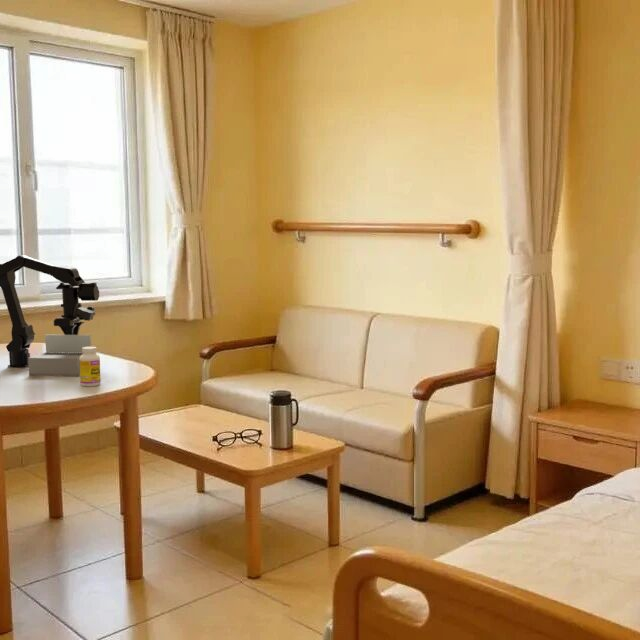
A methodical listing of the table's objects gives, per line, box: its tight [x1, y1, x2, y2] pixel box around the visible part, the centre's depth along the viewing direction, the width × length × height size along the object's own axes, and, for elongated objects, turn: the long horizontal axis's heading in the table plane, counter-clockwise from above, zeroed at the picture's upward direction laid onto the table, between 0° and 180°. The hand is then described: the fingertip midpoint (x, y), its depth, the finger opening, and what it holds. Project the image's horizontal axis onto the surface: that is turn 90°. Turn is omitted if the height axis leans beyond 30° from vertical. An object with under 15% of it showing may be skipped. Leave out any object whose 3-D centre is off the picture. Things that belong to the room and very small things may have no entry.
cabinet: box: [28, 351, 83, 377], centre depth 285 cm, size 18×14×6 cm
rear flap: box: [44, 333, 92, 353], centre depth 293 cm, size 18×7×4 cm
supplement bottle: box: [79, 346, 101, 388], centre depth 263 cm, size 7×7×13 cm
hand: (72, 341), depth 295 cm, fingers open, 4 cm apart
